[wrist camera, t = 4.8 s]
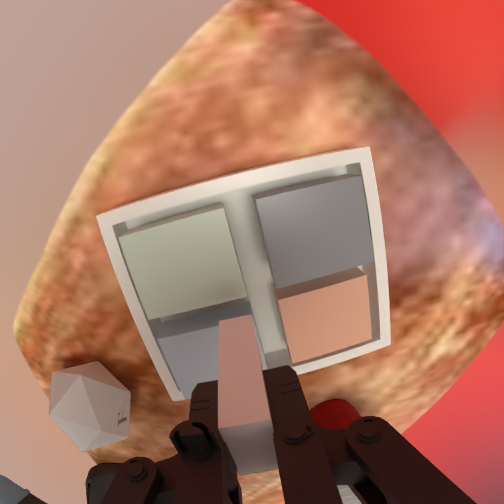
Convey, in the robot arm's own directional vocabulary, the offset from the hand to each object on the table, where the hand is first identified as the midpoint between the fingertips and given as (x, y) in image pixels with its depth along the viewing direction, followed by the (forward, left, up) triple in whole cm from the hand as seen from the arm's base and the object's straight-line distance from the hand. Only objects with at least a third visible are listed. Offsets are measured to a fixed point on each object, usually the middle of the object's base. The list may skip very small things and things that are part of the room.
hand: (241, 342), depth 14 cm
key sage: (-3, +2, -9) cm, 10 cm away
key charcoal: (+6, +2, -9) cm, 11 cm away
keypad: (+2, -2, -12) cm, 13 cm away
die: (-17, -10, -13) cm, 23 cm away
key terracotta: (+6, -5, -11) cm, 13 cm away
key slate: (-3, -5, -9) cm, 11 cm away
